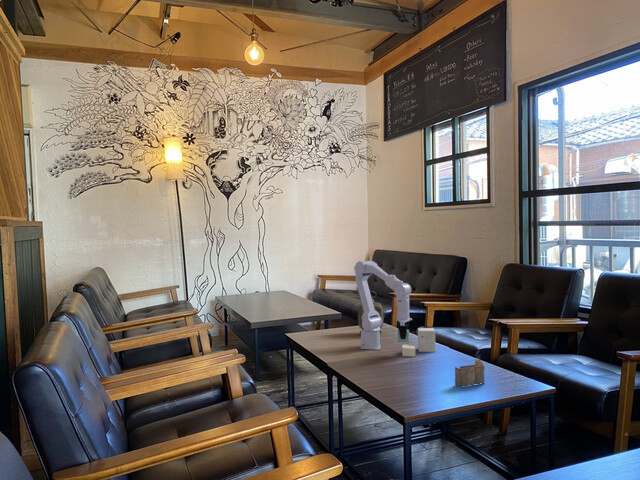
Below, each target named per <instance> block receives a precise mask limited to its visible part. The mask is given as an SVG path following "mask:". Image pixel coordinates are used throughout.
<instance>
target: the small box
mask: <svg viewBox="0 0 640 480" xmlns="http://www.w3.org/2000/svg"><path fill="white" fill-rule="evenodd" d="M417 350H418V351H419V352H421V353H435V352H436V350H437V349H436V330H435V328H433V327H431V328H430V327H418V328H417Z"/></svg>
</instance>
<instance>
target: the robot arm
mask: <svg viewBox="0 0 640 480" xmlns="http://www.w3.org/2000/svg"><path fill="white" fill-rule="evenodd" d="M353 269H354V272H355V273H354V274H355V284H356V286H357V290H358V294H359V298H360V302H361V303H362V306H363V310H364V314H363V315H362V327H363V328H364V329H363V330H362V329H361V330H360V331H361V333H360V349H361V350H376V351H379V350H380V349H381V347H382V345H381V344H380V343H381V341H380V337H381V336H380V335H381V333H380V331H381V329H380V327H381V326H382V324H383V325H384V321H383V322H382V319H381V317H380V316H379V313H378V312H377V311H375V309H374V305H373V302H372V299H373V298H371V297H372V294H371V292H370V291H371V290H370V287H369V284H368V279H369V277H370V276H371V275H372V274H374V275H375V276H377V278H380V279H381V280H383V281H384V284H385V286H387V287H388V288H389V289H391V290H392V291H393V292H394V294H395V296H396V310H397V311H396V321H397V323H396V327H397V330H398V329H399V333H400V338H401V339H405V338H406V333H407V330H409V329H408V328H409V326H410V325H409V324H410V323H411V321H413V318H411V317H410V295H411V293H412V290H413V289H412V286H411V285H410V284H409V282H404V281H403V280H400V279H399V278H398V277H397V276H396V275H395V274H389V273H387V272H386V271H385V270H384V269H382V268H381V267H380V266H379V265H378V263H377V262H375V261H374V260H371V259H370V260H364V261H360V260H359V261H357V262H356V263H355V266H354V267H353ZM382 327H383V326H382Z"/></svg>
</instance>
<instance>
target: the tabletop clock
mask: <svg viewBox="0 0 640 480" xmlns="http://www.w3.org/2000/svg"><path fill="white" fill-rule="evenodd" d="M370 293H374V294H375V296H371V298H372V302H373V305H374V309H375V311H377V312H378V313H379V316H380V317H381V319H382V322H383V324H382V326H381V327H380V334H382V331H381V329H382V328H383V326H384V317H385V314H384V308H383V306H382V305H383V304H382V303H380V302H375V299H373V298H376V297H377V293H376V291H375V290H370ZM357 308H358V309H357V321H358V327H359V328H360V329H361V330H364V328H363V327H362V315H363V314H364V310H363V306H362V302H361V303H359V305H358V307H357ZM361 330H359V333H360V334H361Z"/></svg>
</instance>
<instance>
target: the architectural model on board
mask: <svg viewBox="0 0 640 480" xmlns="http://www.w3.org/2000/svg"><path fill="white" fill-rule="evenodd" d="M474 363H475V364H468V365H461V366H459V367H457V366H455V367H454V385H456V387H457V386H458V387H457V388H459V387H462V386H468V385H474V384H480V383H484V384H485V365H484V362H482V361H481V359H480V358H478V359H476V358H474ZM462 388H463V387H462Z"/></svg>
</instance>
